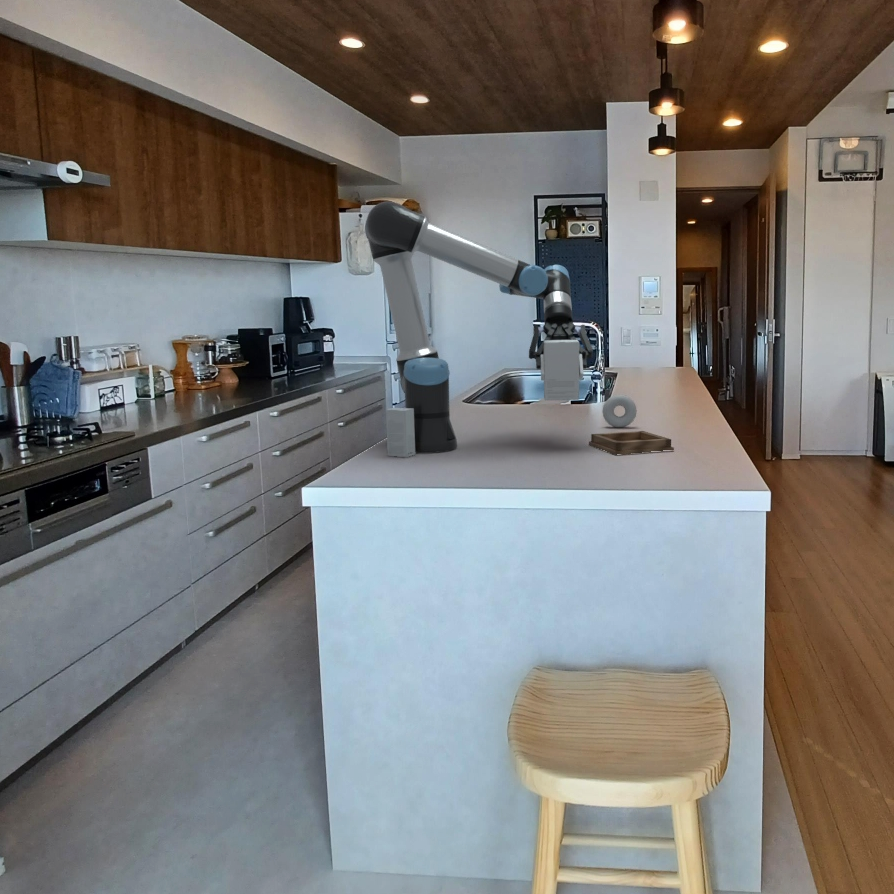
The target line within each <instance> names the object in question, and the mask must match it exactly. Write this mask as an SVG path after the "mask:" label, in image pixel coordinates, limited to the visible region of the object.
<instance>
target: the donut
mask: <svg viewBox="0 0 894 894" xmlns="http://www.w3.org/2000/svg"><path fill="white" fill-rule="evenodd" d="M619 406H620V407H623V409H624V414H623V415H621V416H618V415H617V414H615V409H616V407H619ZM637 411H638V410H637V405H636V403H635V401H634V400H633V399H632V398H631V397H630V396H627V395H626V394H614V395H612V396H610V397H609V398H607V400H606V401H605V402H604V404H603V406H602V416H603V419H604V420H605V422H606V423H607V424H608V425H609V426H612V427H613V428H620V429H621V428H625V427H627V426H630V425H631V424H632V423H633V422H634V420H635V418H637Z"/></svg>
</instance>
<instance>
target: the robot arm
mask: <svg viewBox="0 0 894 894" xmlns="http://www.w3.org/2000/svg"><path fill="white" fill-rule="evenodd" d="M364 231H365V237H366V238H367V240H368V244H369V248H370V253H371V257H372V261H373V262H374V263H376V264H377V265H378V266H379V267H380V272H381V276H382V278H383V279H382V280H383V283H384V284H383V285H384V289H385V293H386V297H387V301H388V306H389V309H390V314H391V320H392V322H393V328H394V332H395V337H396V340H397V341H396V342H397V344H398V349H399V354H398V355H397V357H396V360H395V361H396V366H397V371H398V374H399V378H400V380H399V382H400V387H401V389H402V391H403V393H404V408H413V409H414V431H415V453H422V454H423V453H424V454H425V453H428V454H429V453H440V452H448V451H453V450H456V449H457V447H458V444H457V442H458V441H457V436H456V433H455V430H454V428H453V425H452V422H451V419H450V416H451V415H450V378H449V377H450V375H451V374H450V373H451V372H450V369H449V363H448V362H447V360H444V359H443V358H442V359H441V358H440V357H439V353H438V350H437V349H436V348H435V347H433V346H432V345H431V343H430V338H429V333H428V329H427V326H426V320H425V315H424V310H423V307H422V302H421V297H420V293H419V289H418V284H417V281H416V280H417V278H416V274H415V271H414V267H413V262H412V257H413V255H415V252H420V253H421V254H425V255H427V256H430V257H432V258H434V259H437V260H439V261H442V262H444V263H447V264H449V265H451V266H454V267H456V268H458V269H462V270H464V271H467V272H469V273H471V274H474V275H475V276H476V275H477V276H479V277H482V278H485V279H487V280H489V281H492V282H494V283H497V284H499V291H500V292H501V293H503V294H507V295H509V296H510V295H511V296H512V295H513V296H519V297H520V296H521V297H527V298H528V297H529V298H534V299H542V300H543V317H544V318H543V320H544V324H543V326H538V325H537V324H534V325H533V336H532V339H531V343H530V346H529V350H528V358H529V359H530V360H532V359H535V367H536V369H537V370H540V381H541V382H542V381H543V382H544V341H545V340H577V338H576V337H575V336H574V333H575V332H576V334H577V335H578V336H579V339H580V342H581V343H580V342H579V381H583V379H584V369H587V364H588V363H587V359H592V358H593V353H594V350H593V347H592V345H591V342H590V339H589V337H588V335H587V333H586V325H585V324H581V325H580V326H577V325H576V326H575V323H574V318H573V309H572V307H573V306H572V298H571V297H572V296H571V280H570V276H569V274H570V273H569V271H568V270H567V268H566V267H564V266H563V265H560V264H553V265H548V266H546V267H545V268H544V269H543V268H542V267H541V266H539V265H536V264H529V263H527V262H525V261H523V260H519V259H517V258H515V257H513V256H511V255H509V254H506V253H503V252H501V251H497V250H496V249H493V248H492V247H488V246H486V245H484V244H482V243H479V242H476V241H474V240H471V239H469V238H467V237H464V236H462V235H459V234H456V233H455V232H453V231H450V230H447V229H445V228H443V227H440V226H437V225H435V224H432V223H430V222H429V221H428V219H427V216H425V215H421V214H420V213H417V212H415V211H413V210H412V209H409V208H408V207H406V206H404V205H402V204H400V203H398V202H395V201H388V200H386V201H382V202H380V203H377V204H375V206H373V207H372V208H371V210H370V211H369V212H368V215H367V217H366V220H365V226H364ZM542 333H544V334H545V335H546V336H545V337H544V339H543V341H542V342H541V344H540V345H539V347H538V348H537V346H538V342H539V337H540V336H541V335H542ZM581 344H582V345H581ZM536 349H537V350H536Z"/></svg>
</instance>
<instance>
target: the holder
mask: <svg viewBox="0 0 894 894" xmlns="http://www.w3.org/2000/svg"><path fill="white" fill-rule="evenodd" d="M590 439H591V441H588V446H589V445H590V447H592V446H593V447H592V448H595V447H596V448H595V449H597V448H599V449H598V450H600V449H602V450H601V451H603V450H605V451H607V452H606V453H608V452H610V453H612V454H611V455H613V454H615V455H614V456H618V455H617V454H628V455H632V454H631V453H642V452H651V451H663V450H674V451H675V447H674V446H672V439H671V438H669V437H665V436H661V435H658V434H654V433H652V432H649V431H644V430H638V431H637V430H635V431H620V432H619V431H617V432H604V433H591V435H590ZM605 451H604V452H605ZM610 453H609V454H610Z"/></svg>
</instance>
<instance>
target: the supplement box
mask: <svg viewBox="0 0 894 894" xmlns="http://www.w3.org/2000/svg"><path fill="white" fill-rule="evenodd" d="M543 341H544V340H543ZM579 343H580V341H579V340H578V339H576V340H545V341H544V381H543V397H544V398H543V399H544V401H579V400H580V378H579Z"/></svg>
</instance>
